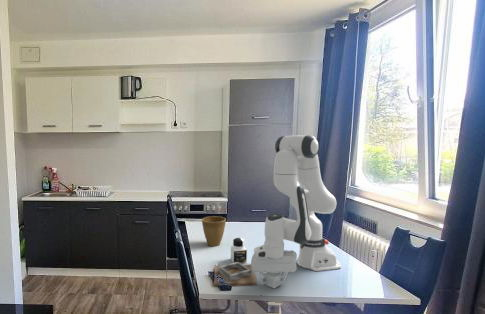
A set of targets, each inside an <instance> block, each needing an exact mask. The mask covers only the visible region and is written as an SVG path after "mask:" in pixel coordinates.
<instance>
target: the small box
mask: <svg viewBox="0 0 485 314" xmlns="http://www.w3.org/2000/svg"><path fill="white" fill-rule="evenodd" d="M264 276H265V282H264V285H265V286H267V287H270V288H272V289H276V288H277V287H280V286H281V285H282V282H283V281H282V276H283V275H282V273H281V272H265V274H264Z"/></svg>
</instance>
